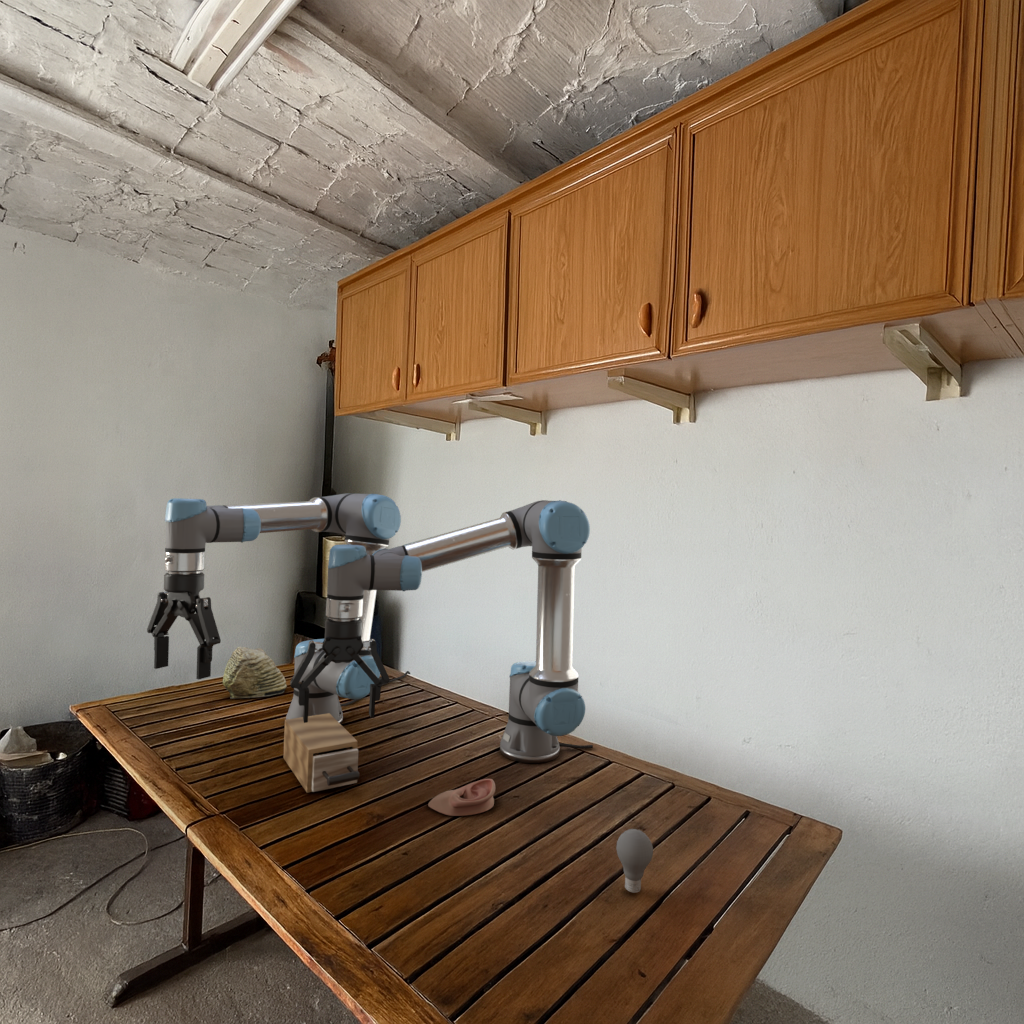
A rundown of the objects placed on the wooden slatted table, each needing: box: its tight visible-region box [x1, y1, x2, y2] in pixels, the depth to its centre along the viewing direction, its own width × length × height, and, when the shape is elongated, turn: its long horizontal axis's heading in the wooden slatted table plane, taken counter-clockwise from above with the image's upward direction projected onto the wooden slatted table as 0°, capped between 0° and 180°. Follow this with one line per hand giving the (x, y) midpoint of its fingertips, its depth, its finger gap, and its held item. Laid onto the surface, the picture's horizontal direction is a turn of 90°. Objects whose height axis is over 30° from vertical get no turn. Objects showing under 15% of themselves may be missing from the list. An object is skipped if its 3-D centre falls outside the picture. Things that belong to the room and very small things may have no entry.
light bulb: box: [615, 828, 654, 894], centre depth 106 cm, size 6×6×10 cm
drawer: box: [312, 747, 360, 793], centre depth 142 cm, size 24×10×7 cm, turn 33°
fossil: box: [222, 646, 288, 699], centre depth 198 cm, size 9×18×15 cm, turn 132°
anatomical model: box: [427, 778, 496, 817], centre depth 133 cm, size 13×4×12 cm
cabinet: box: [282, 713, 358, 793], centre depth 147 cm, size 20×11×9 cm, turn 33°
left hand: (181, 672), depth 133 cm, fingers open, 13 cm apart
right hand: (339, 718), depth 134 cm, fingers open, 13 cm apart
